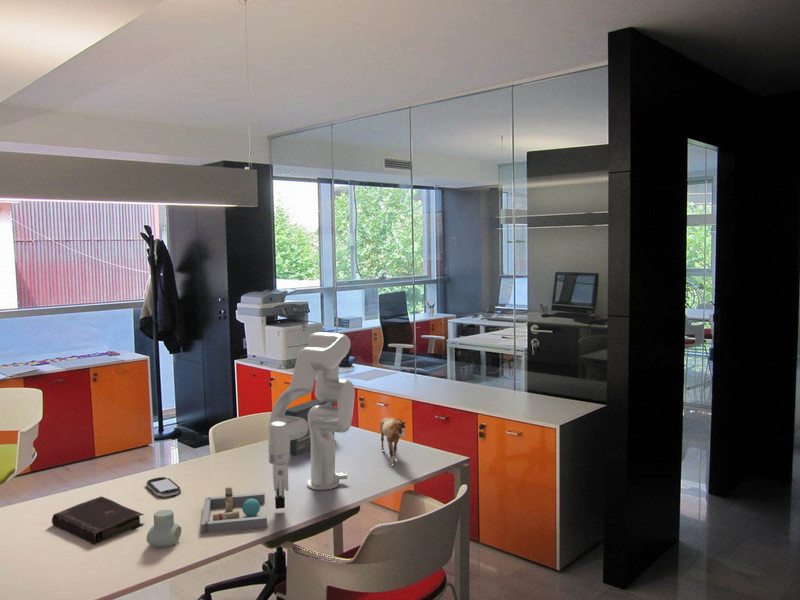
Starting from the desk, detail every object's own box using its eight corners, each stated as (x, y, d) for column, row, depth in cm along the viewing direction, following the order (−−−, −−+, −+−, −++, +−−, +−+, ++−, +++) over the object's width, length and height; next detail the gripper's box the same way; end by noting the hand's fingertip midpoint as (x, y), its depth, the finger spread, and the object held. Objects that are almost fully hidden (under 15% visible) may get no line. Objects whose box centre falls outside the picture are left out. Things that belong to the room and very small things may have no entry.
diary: (93, 548, 202) (93, 532, 202) (52, 528, 216) (51, 514, 216) (146, 525, 218) (145, 511, 217) (104, 508, 232) (103, 495, 231)
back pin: (232, 509, 230) (232, 486, 229) (232, 512, 228) (232, 488, 227) (225, 510, 229) (225, 486, 229) (225, 513, 227) (225, 489, 226)
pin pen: (264, 500, 238) (264, 492, 238) (267, 526, 216) (267, 518, 216) (205, 505, 233) (205, 497, 233) (201, 533, 211) (201, 524, 211)
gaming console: (143, 485, 254) (143, 479, 253) (166, 480, 259) (166, 474, 259) (159, 501, 238) (159, 494, 238) (183, 495, 244) (183, 488, 244)
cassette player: (296, 455, 289) (295, 412, 287) (283, 453, 292) (283, 410, 290) (334, 439, 314) (334, 398, 312) (322, 436, 317) (322, 396, 315)
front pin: (239, 513, 221) (213, 516, 218) (239, 519, 222) (213, 523, 219) (238, 509, 224) (212, 513, 220) (238, 515, 224) (212, 519, 221)
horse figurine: (406, 469, 271) (406, 421, 270) (388, 470, 270) (388, 422, 268) (393, 446, 302) (393, 403, 300) (377, 447, 300) (377, 404, 299)
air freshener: (158, 535, 209) (157, 505, 209) (183, 535, 209) (182, 506, 208) (144, 551, 199) (143, 520, 198) (170, 552, 198) (169, 520, 197)
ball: (237, 506, 226) (251, 513, 228) (239, 515, 220) (254, 522, 223) (248, 492, 226) (262, 500, 228) (251, 501, 220) (264, 509, 223)
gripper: (291, 463, 220) (292, 515, 222) (288, 449, 235) (289, 498, 236) (269, 464, 218) (270, 517, 220) (267, 451, 233) (268, 500, 234)
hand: (280, 507), depth 228 cm, fingers closed
